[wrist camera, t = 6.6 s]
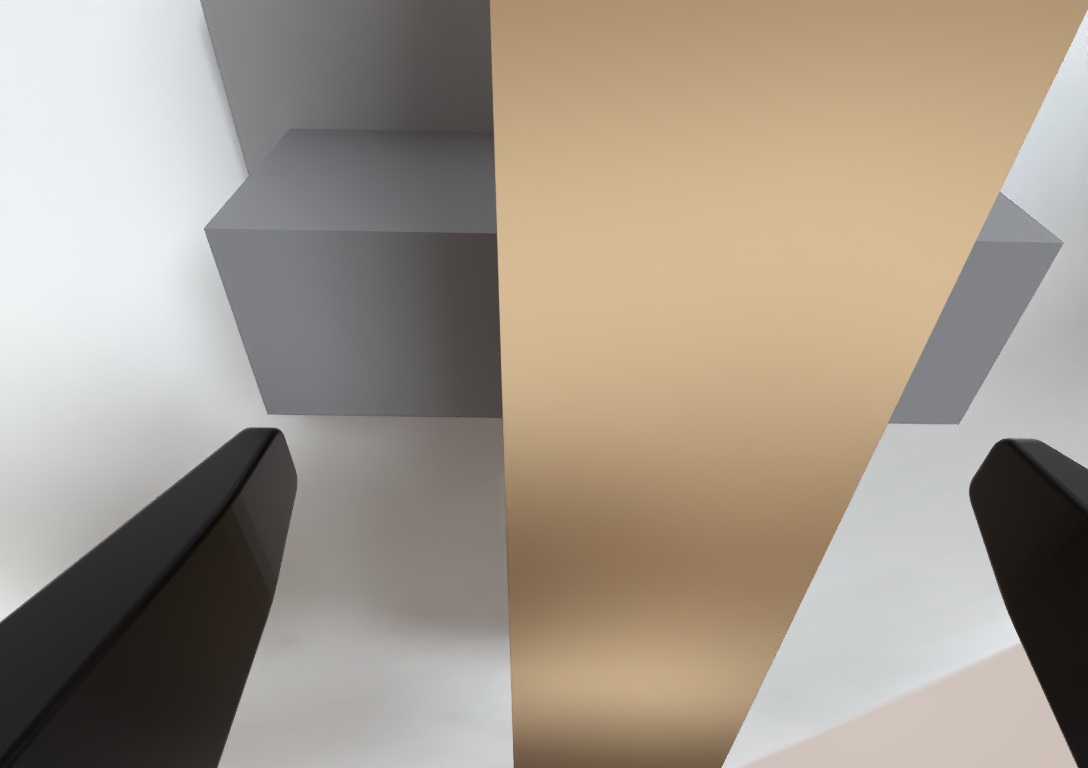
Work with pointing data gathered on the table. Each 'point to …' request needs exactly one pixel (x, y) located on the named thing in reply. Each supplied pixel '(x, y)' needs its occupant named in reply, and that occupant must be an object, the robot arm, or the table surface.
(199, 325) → the table surface
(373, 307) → the grey stepped block
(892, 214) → the beam
